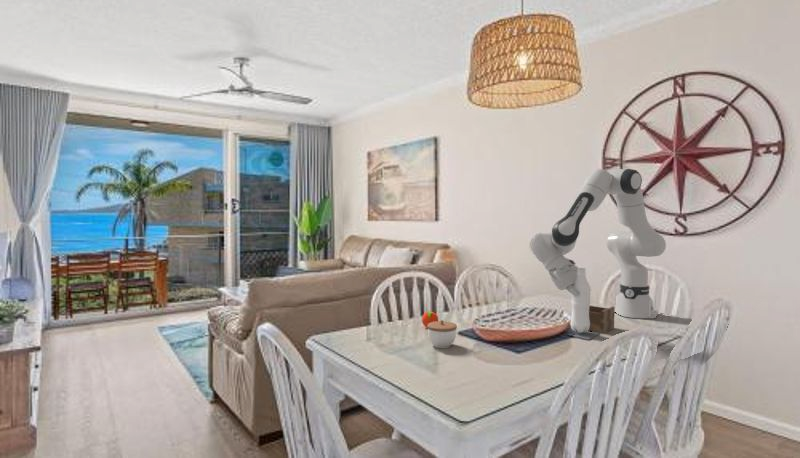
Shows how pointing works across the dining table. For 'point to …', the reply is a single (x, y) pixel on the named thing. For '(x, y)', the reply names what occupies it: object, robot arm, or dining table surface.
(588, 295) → the water bottle
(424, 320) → the tomato
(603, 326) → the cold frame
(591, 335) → the mat
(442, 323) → the lidded jar
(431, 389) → the dining table surface
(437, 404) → the dining table surface
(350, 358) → the dining table surface
